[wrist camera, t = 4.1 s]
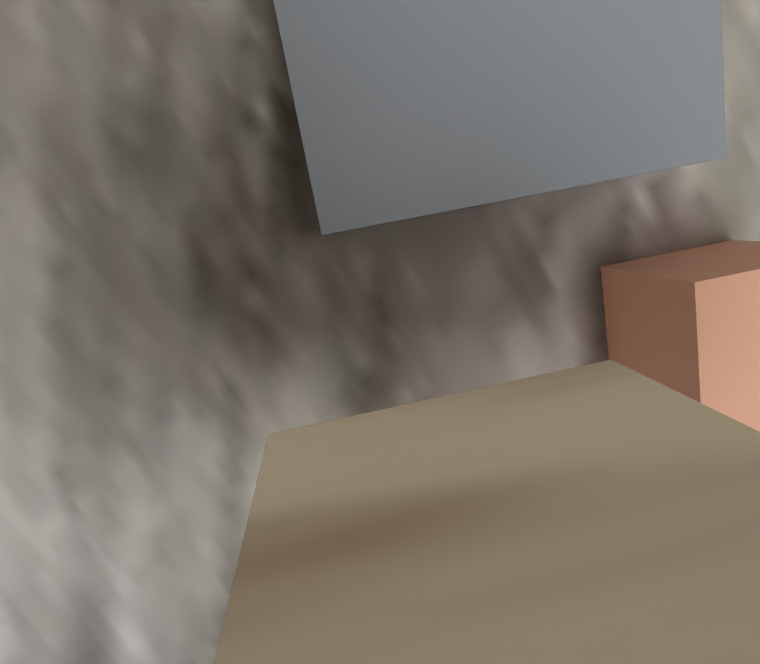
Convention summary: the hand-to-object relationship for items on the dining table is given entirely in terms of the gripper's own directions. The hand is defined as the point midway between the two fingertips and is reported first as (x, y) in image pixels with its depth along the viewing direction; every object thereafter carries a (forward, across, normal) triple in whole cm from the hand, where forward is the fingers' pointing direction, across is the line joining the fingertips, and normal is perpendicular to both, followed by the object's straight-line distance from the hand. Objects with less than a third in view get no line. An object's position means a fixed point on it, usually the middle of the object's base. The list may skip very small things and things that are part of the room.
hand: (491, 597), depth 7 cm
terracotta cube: (+12, -11, +1) cm, 16 cm away
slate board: (+12, -5, -11) cm, 17 cm away
